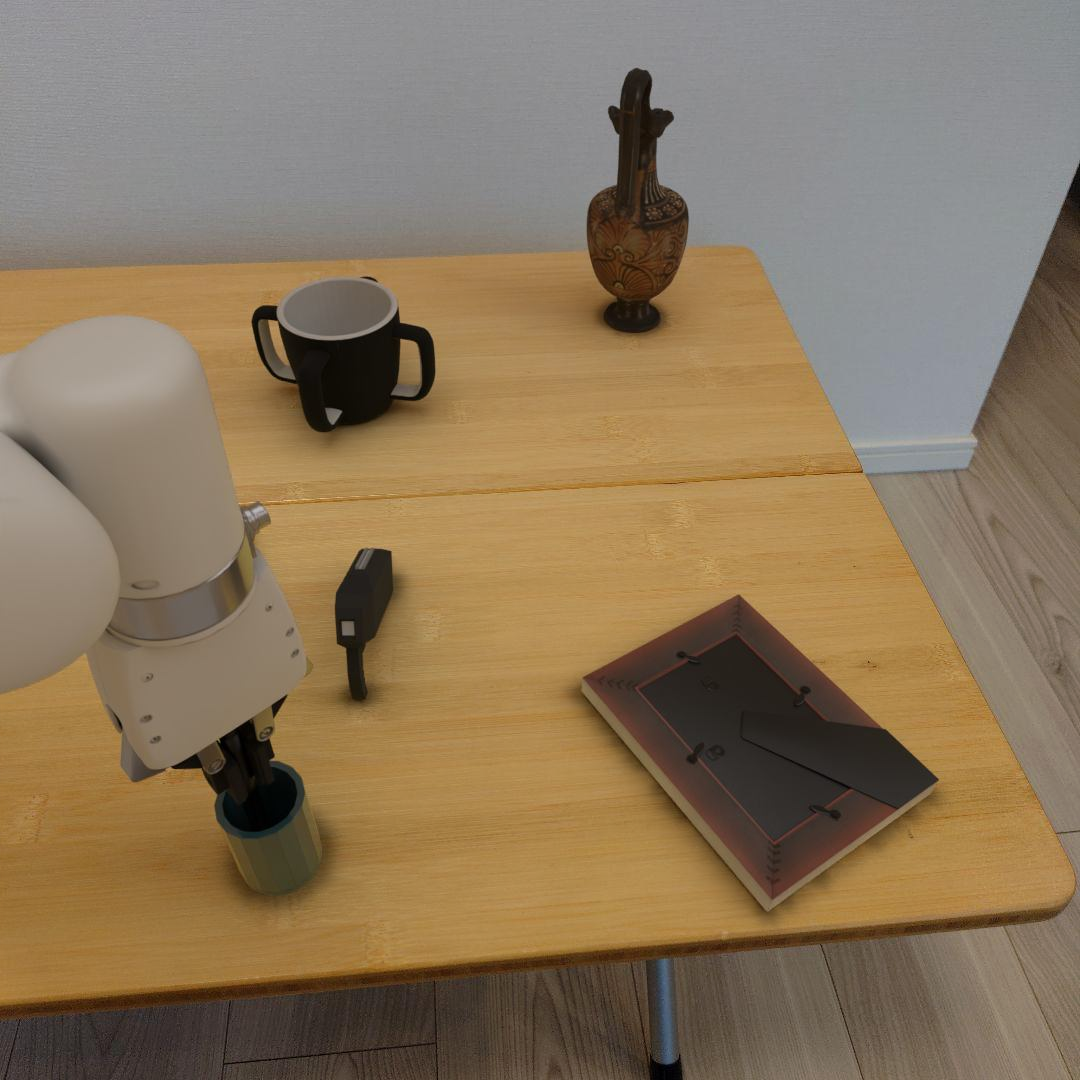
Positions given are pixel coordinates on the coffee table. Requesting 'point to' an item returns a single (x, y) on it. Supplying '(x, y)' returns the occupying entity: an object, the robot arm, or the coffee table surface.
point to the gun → (362, 609)
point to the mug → (343, 349)
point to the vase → (636, 215)
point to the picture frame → (757, 747)
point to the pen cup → (274, 835)
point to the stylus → (247, 781)
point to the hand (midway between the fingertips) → (243, 777)
